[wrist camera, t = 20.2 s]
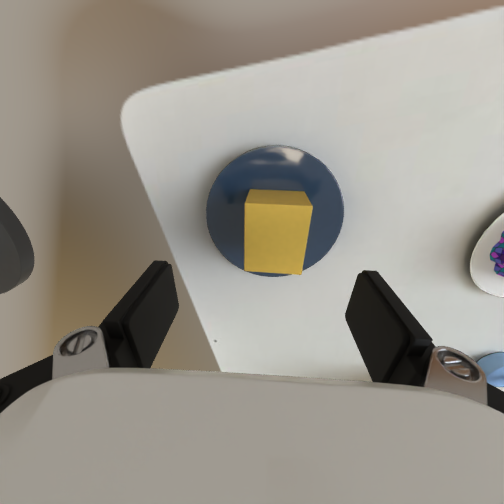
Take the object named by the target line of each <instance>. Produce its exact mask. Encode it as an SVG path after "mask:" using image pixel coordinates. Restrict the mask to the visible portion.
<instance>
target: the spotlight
mask: <svg viewBox="0 0 504 504" xmlns="http://www.w3.org/2000/svg"><path fill="white" fill-rule="evenodd" d="M477 364H478V365H479V366H480V367H481V368H482V370H483V371H484V373H485V375H486V379H487V383H489V384H491V385H492V386H495V387H504V352H499V353H494V354H490V355H487V356H485V357H483V358H481V359H480V360H479V361H478V362H477Z"/></svg>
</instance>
